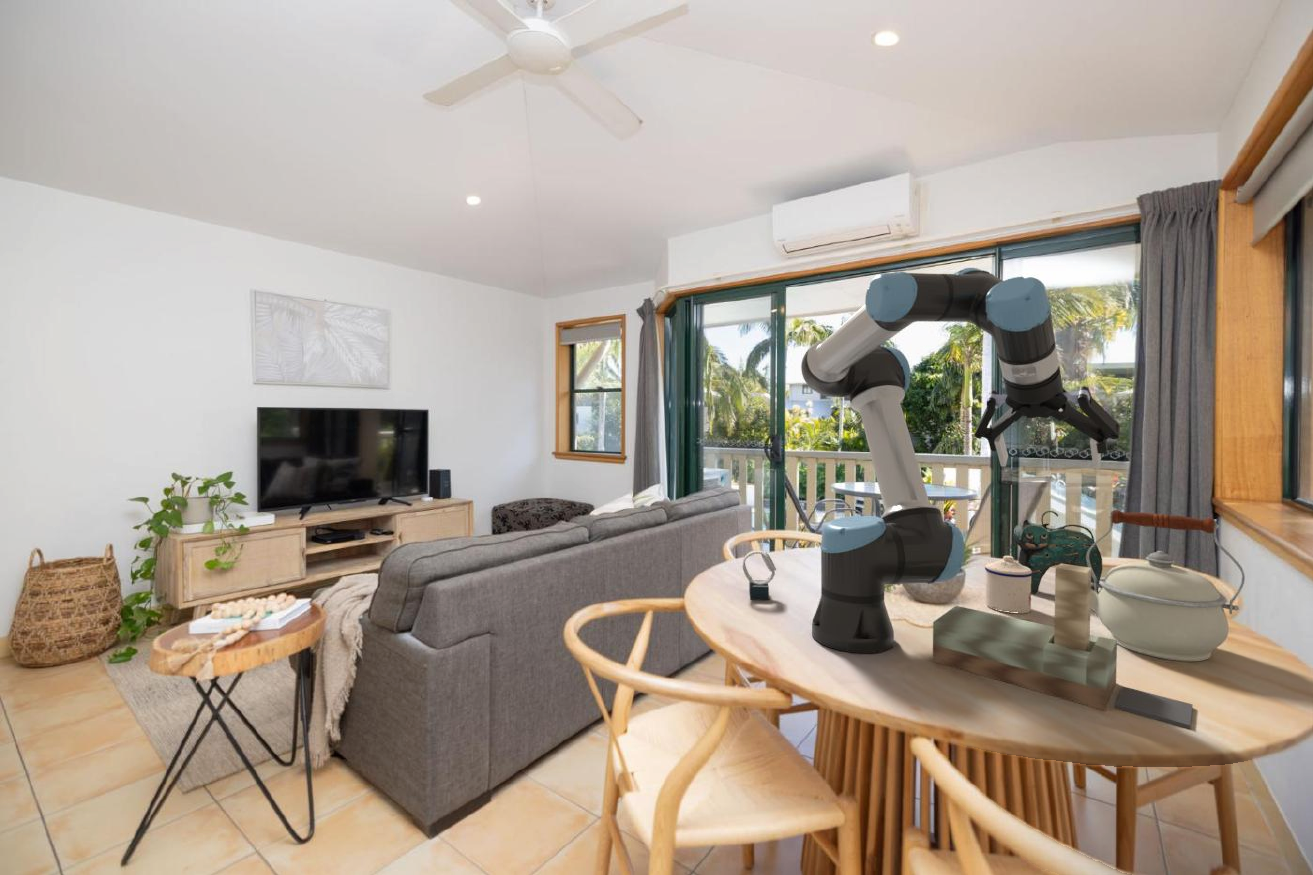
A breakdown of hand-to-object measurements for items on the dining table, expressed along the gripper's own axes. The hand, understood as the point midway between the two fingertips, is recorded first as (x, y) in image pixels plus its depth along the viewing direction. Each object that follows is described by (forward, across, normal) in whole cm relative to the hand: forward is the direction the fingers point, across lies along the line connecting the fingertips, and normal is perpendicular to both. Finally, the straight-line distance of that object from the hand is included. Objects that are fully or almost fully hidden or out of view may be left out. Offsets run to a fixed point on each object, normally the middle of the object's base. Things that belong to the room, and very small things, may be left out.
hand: (1048, 462), depth 100 cm
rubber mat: (+19, +15, -31) cm, 39 cm away
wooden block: (+16, +5, -29) cm, 34 cm away
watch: (+21, -57, -28) cm, 67 cm away
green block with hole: (+19, -2, -31) cm, 36 cm away
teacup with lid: (+44, -13, -5) cm, 46 cm away
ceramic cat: (+58, -7, +10) cm, 60 cm away
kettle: (+40, +12, -10) cm, 43 cm away
